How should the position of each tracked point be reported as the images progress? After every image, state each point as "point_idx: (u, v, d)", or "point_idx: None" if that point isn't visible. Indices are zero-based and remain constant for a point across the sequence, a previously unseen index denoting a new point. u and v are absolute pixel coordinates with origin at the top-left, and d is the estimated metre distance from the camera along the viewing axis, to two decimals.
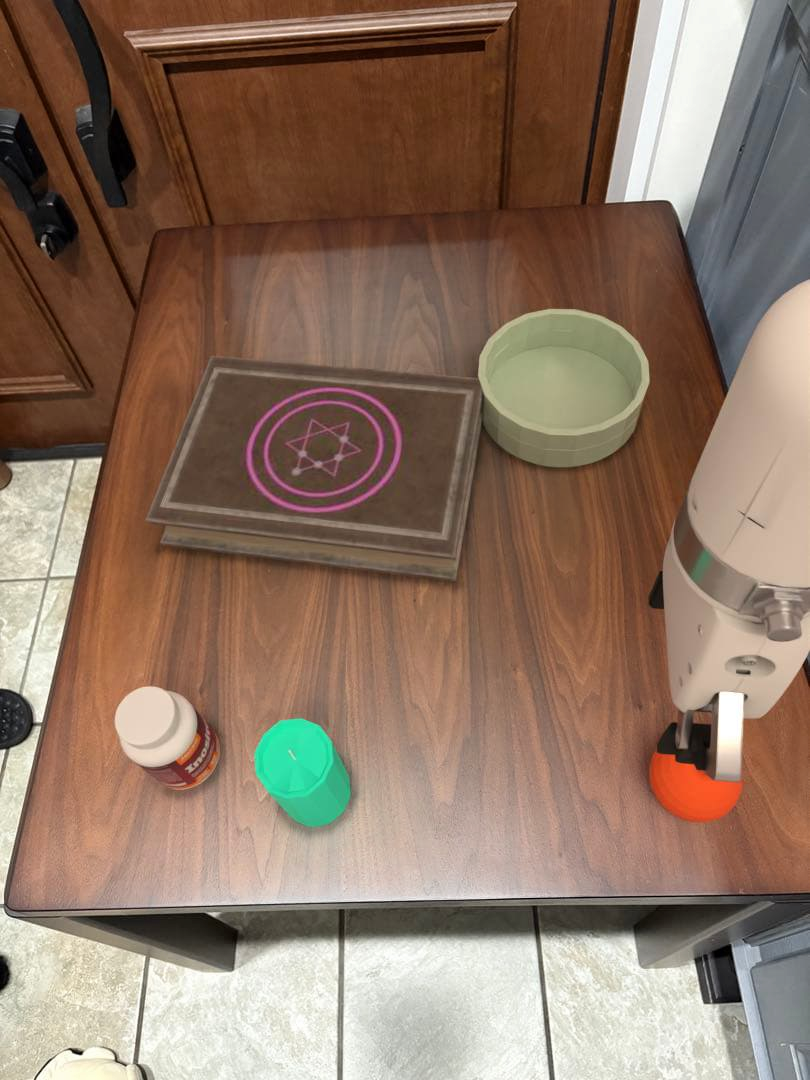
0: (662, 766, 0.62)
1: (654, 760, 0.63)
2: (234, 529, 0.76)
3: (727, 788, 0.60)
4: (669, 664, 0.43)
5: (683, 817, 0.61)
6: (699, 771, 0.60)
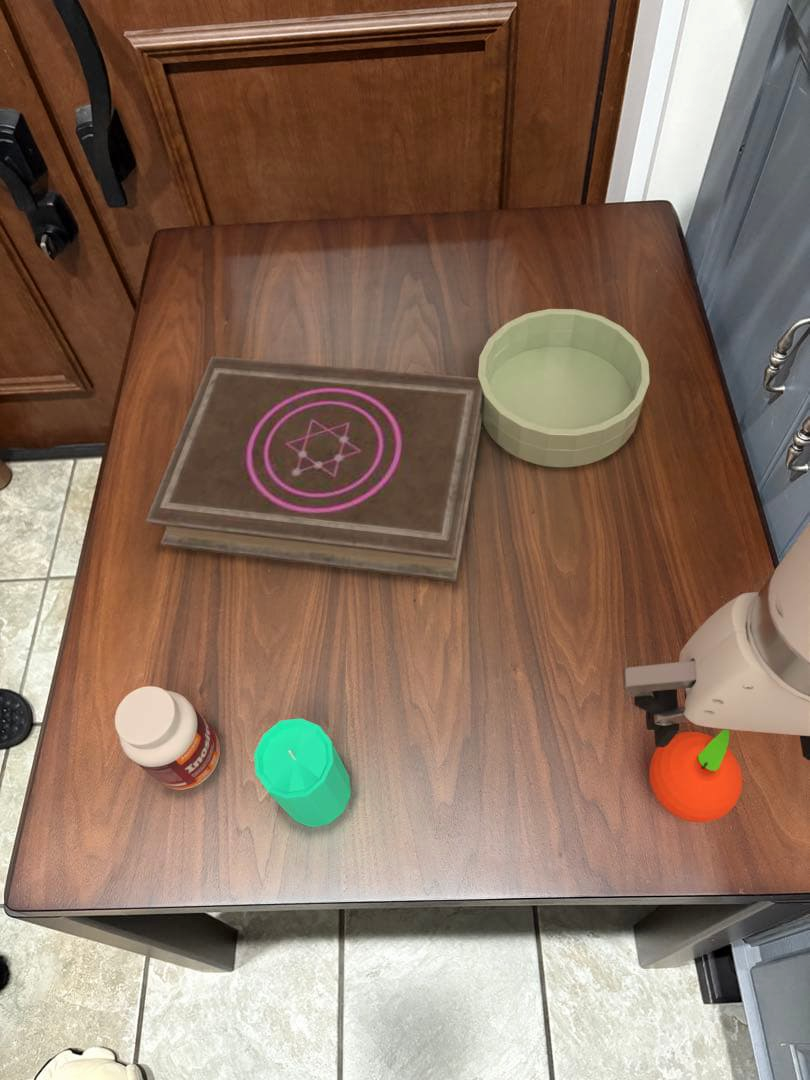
0: (662, 766, 0.62)
1: (654, 760, 0.63)
2: (234, 530, 0.76)
3: (727, 788, 0.60)
4: None
5: (683, 817, 0.61)
6: (699, 771, 0.60)
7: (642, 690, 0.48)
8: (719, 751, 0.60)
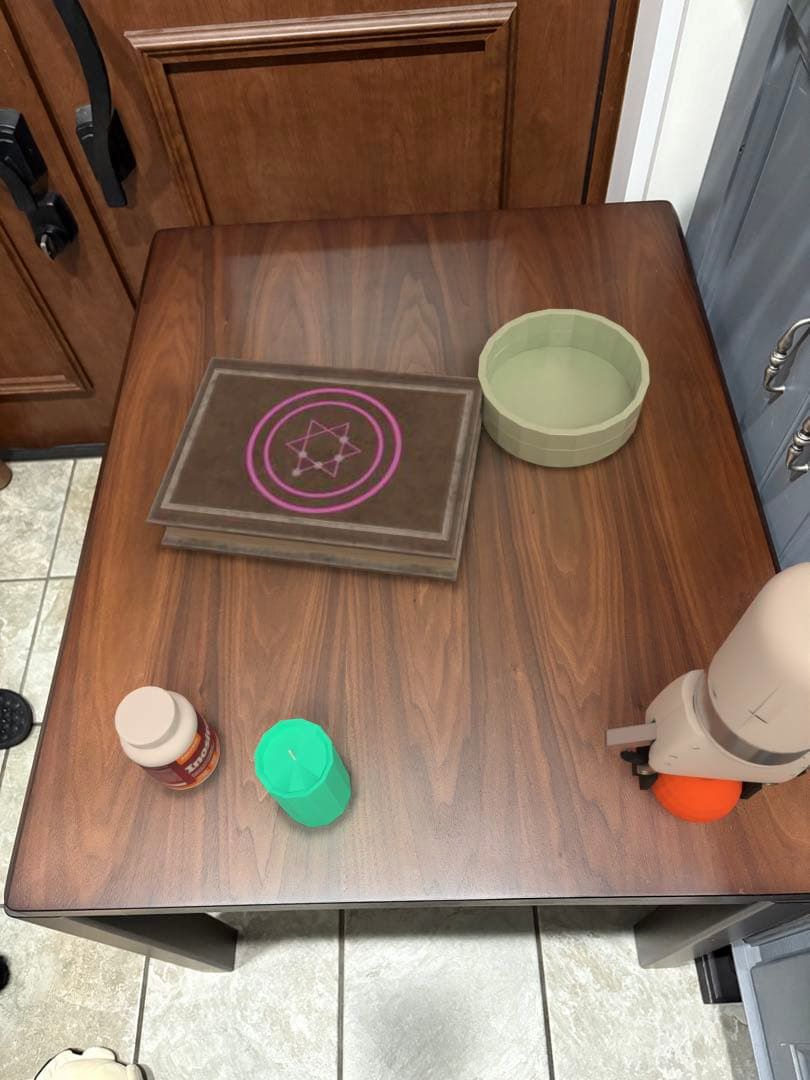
0: None
1: None
2: (234, 530, 0.76)
3: (728, 789, 0.60)
4: (753, 780, 0.56)
5: (683, 817, 0.61)
6: None
7: (620, 748, 0.58)
8: None
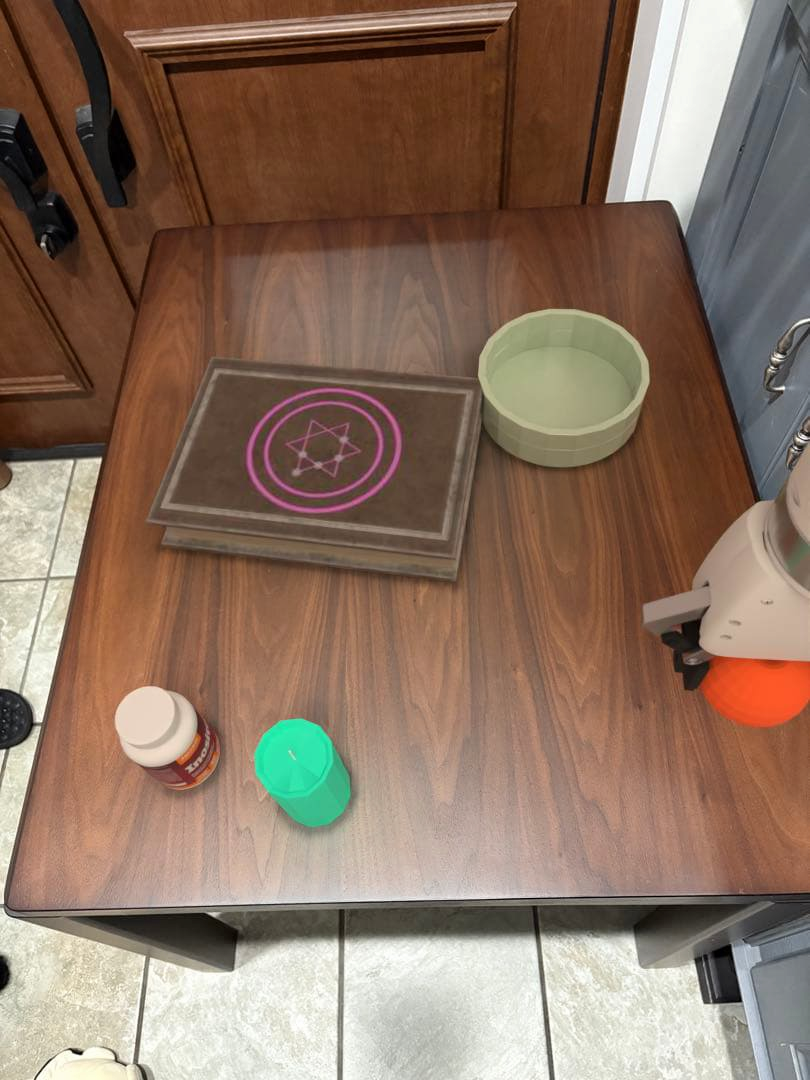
0: (714, 658, 0.49)
1: None
2: (234, 530, 0.76)
3: (799, 679, 0.47)
4: None
5: (742, 720, 0.49)
6: None
7: (662, 625, 0.45)
8: None
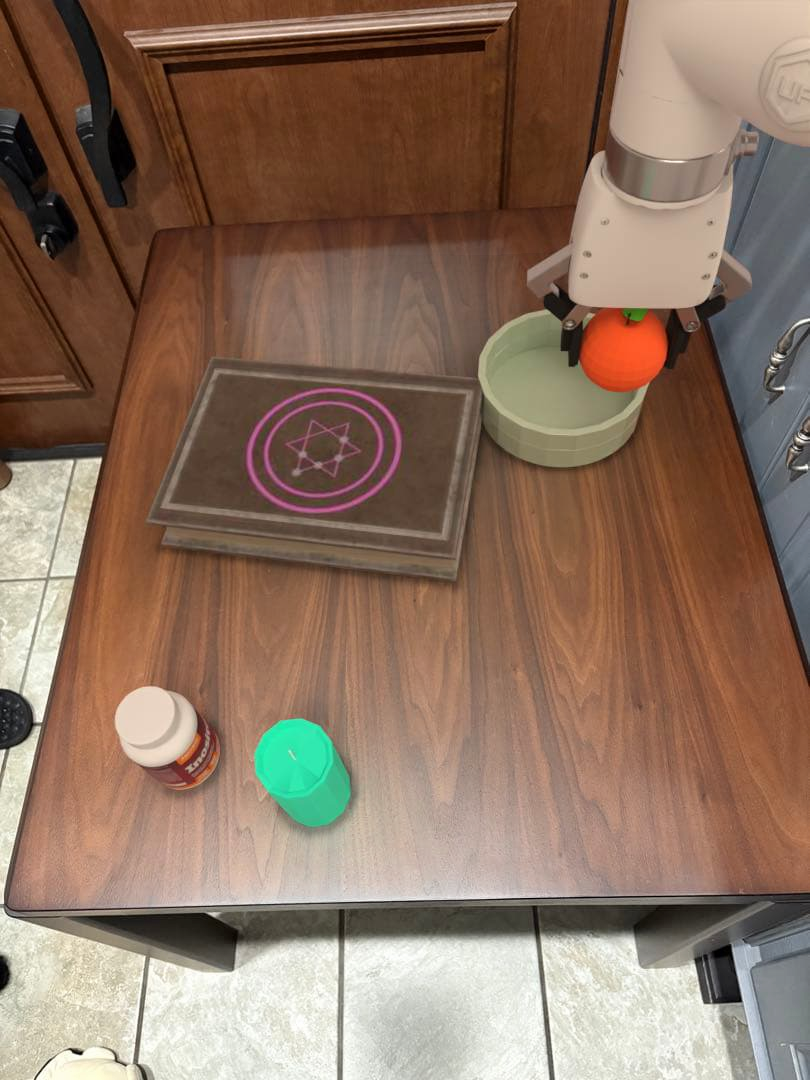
0: (588, 330, 0.62)
1: None
2: (234, 530, 0.76)
3: (651, 337, 0.60)
4: (671, 301, 0.57)
5: (610, 378, 0.62)
6: (623, 324, 0.61)
7: (541, 285, 0.58)
8: None
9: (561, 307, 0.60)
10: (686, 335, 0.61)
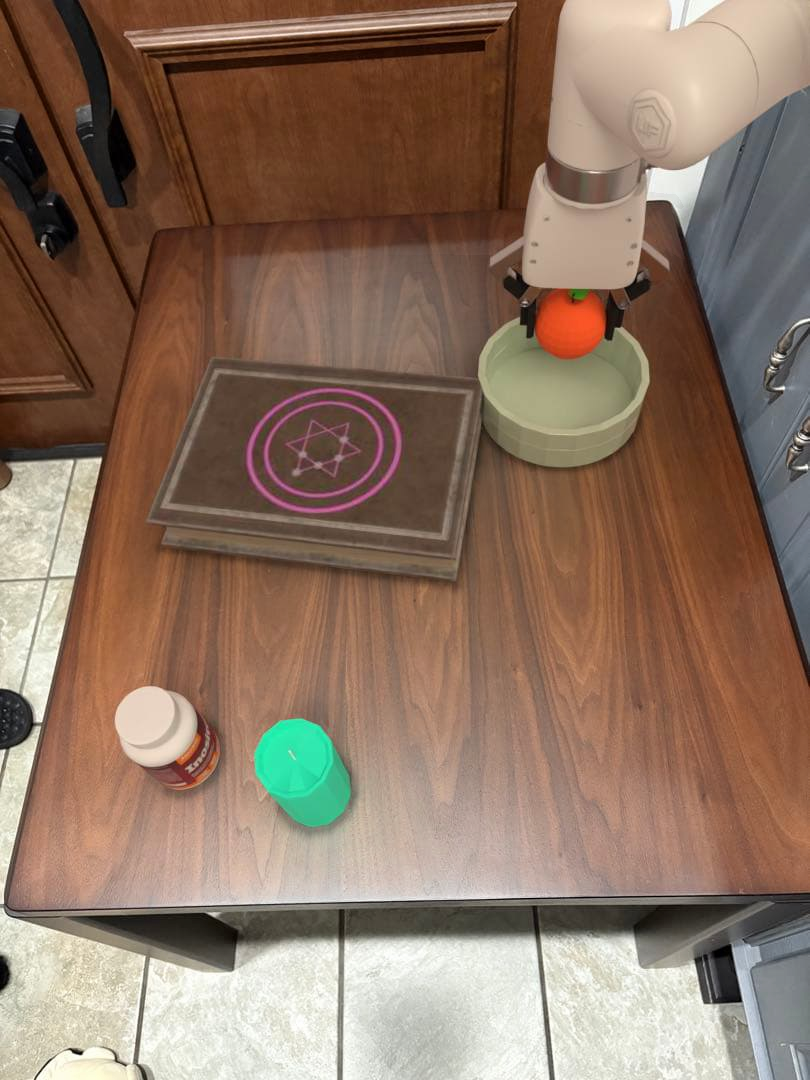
0: (541, 307, 0.76)
1: None
2: (234, 530, 0.76)
3: (591, 313, 0.74)
4: (604, 283, 0.70)
5: (558, 347, 0.75)
6: (568, 302, 0.74)
7: (501, 269, 0.72)
8: None
9: (518, 288, 0.73)
10: (620, 312, 0.75)
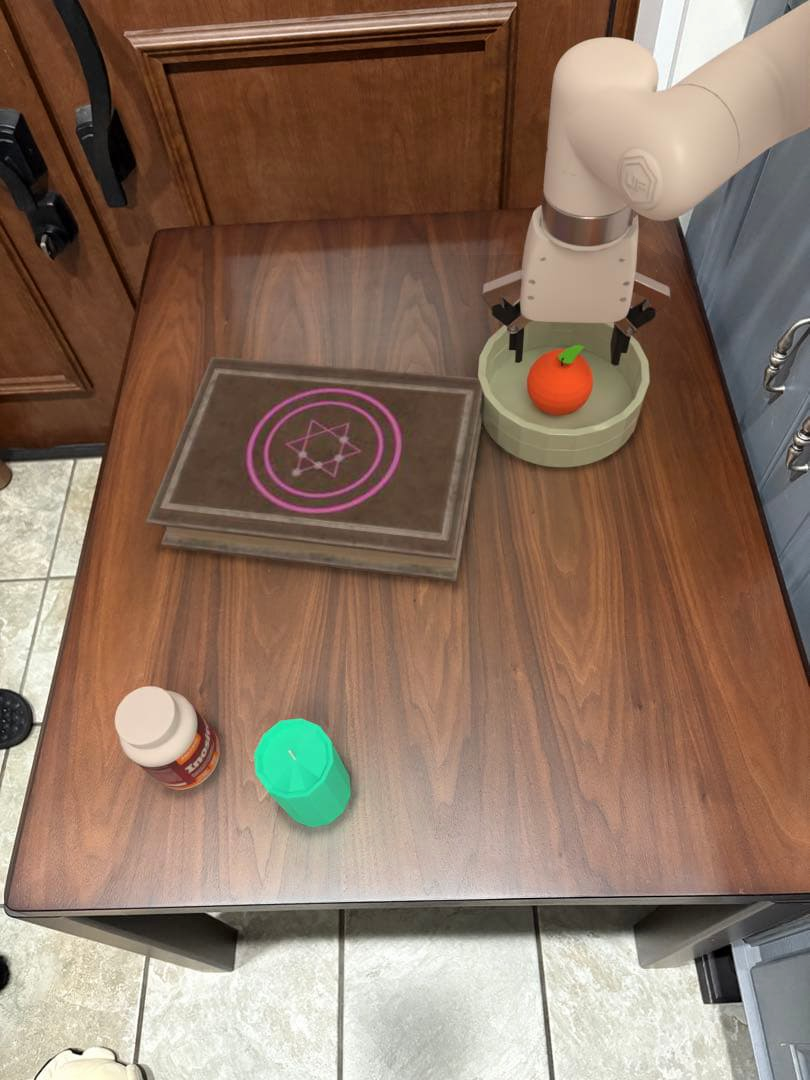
0: (533, 369, 0.83)
1: (529, 371, 0.84)
2: (234, 530, 0.76)
3: (578, 376, 0.81)
4: (599, 317, 0.74)
5: (548, 405, 0.82)
6: (558, 365, 0.81)
7: (493, 297, 0.75)
8: (574, 352, 0.82)
9: (506, 315, 0.76)
10: (626, 338, 0.77)
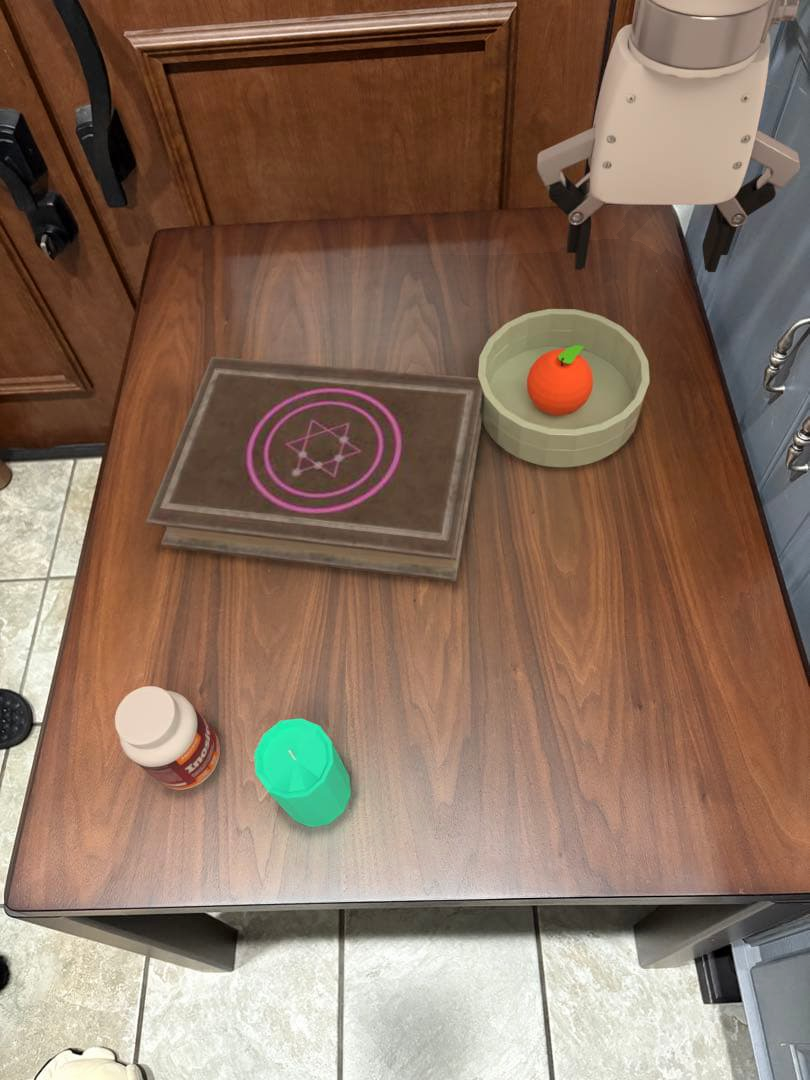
0: (533, 369, 0.83)
1: (529, 371, 0.84)
2: (234, 530, 0.76)
3: (578, 376, 0.81)
4: (699, 195, 0.53)
5: (548, 405, 0.82)
6: (558, 365, 0.81)
7: (553, 169, 0.55)
8: (574, 352, 0.82)
9: (568, 198, 0.56)
10: (730, 232, 0.57)
